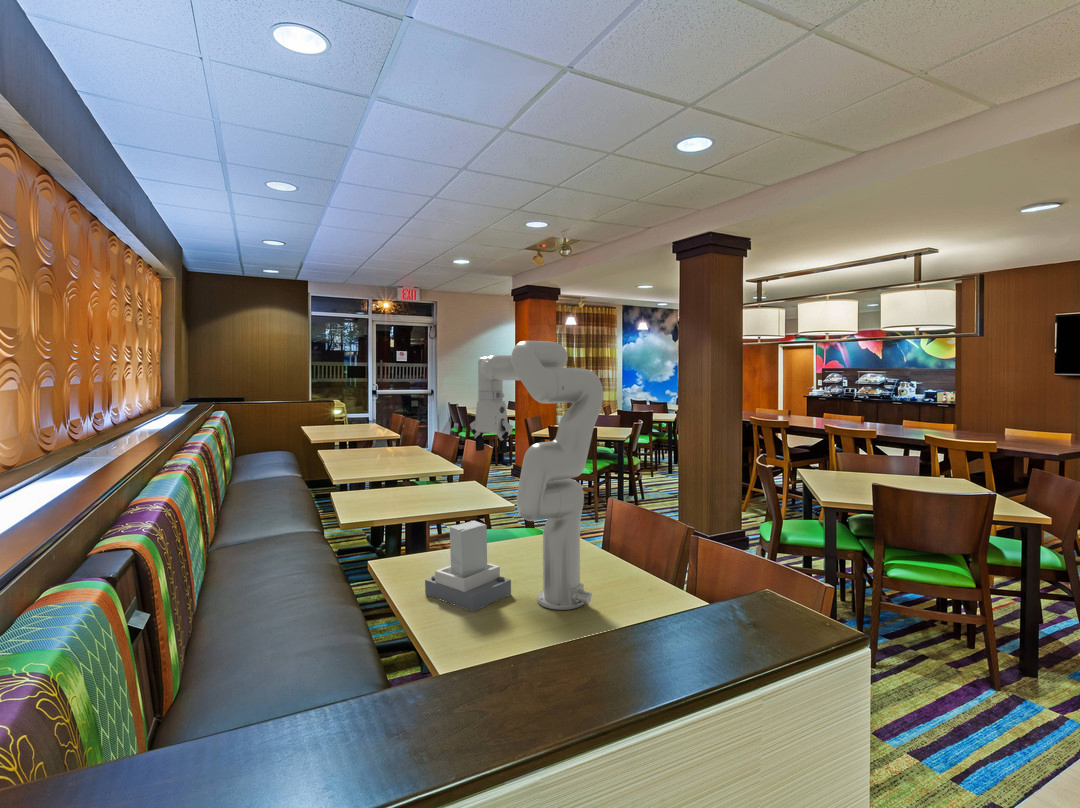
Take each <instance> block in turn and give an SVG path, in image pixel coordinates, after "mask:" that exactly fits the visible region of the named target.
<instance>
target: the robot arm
mask: <svg viewBox="0 0 1080 808" xmlns="http://www.w3.org/2000/svg"><path fill="white" fill-rule="evenodd" d="M568 356H569V355H568V352H567V350H566V349H565V347H564V346H563V345H562V344H560V343H558V342H556V341H549V340H548V341H547V340H545V341H544V340H522V341H519V342H518V343H517V344H515V346H514V348H513V349H512V351H511V355H509V354H508V355H507V354H506V355H503V354H502V355H501V354H500V355H499V354H495V355H494V354H493V355H489V356H482V357H479V358H478V359H477V391H478V392H477V396H478V397H477V400H478V401H477V403H476V410H475V419H474V420H473V421H472V422H470V424H469V426H470V429H471V433H472V434H473V437H474V439H475V451H476V452H479V451H480V452H481V451H484V450H485V437H484V435H485V434H490V435H491V434H493V435H496V436H497V437H498V439H499V440H497V444H498V445H497V446H498V447H497V449H498V454H507V452H508V440H509V438H510V436H511V435H512V432H513V429H514V426H513V425H512V424H511V423H509V422H508V412H507V406H506V402H505V400H503V398H505V394H504V393H503V381H520V382H521V383H522V384H523V386H524V387H525V389H526V391H527V392H528V394H529V395H530V396H531V398H533V400H534V401H536V402H537V403H540V404H548V405H549V404H561V403H562V404H565V403H571V405H570V406H569V407H568V409H567V410H566V411H565V412H564V414H563V415H562V417H561V418H560V421H559V423H558V427H557V431H556V436H555V438H554V439H553V440H550V441H541V442H536V443H534V444H532V445H530V446H529V447H528V448H527V450H526V451H525V453H524V456H523V459H522V466H521V468H520V469H521V470H520V474H519V475H520V476H519V481H518V486H517V487H518V488H517V492H516V493H517V494H516V508H517V511H518V514H519V516H520V517H521V518H522V519H524V520H526V521H528V522H537V521H543V520H546V522H545V525H544V528H543V532H542V585H543V586H542V590H541V591H540V592H538V594H537V596H536V601H537V602H538V604H539V605H540V606H542V607H544V608H546V609H550V610H555V611H556V610H557V611H567V610H572V609H573V610H575V609H578V608H579V607H582V606H583V605H585V604H587V605H589V604H590V603H591V601H592V596H593V594H592V592H590V591H586V590H584V587H585V586H584V584H583V583H581V520H582V514H583V513H582V512H583V507H584V504H585V503H584V501H585V494H584V493H585V492H584V489H583V487H582V485H581V484H580V482H579V481H577V480H575V479H573V478H577V477H579V476H580V475H582V473H583V472H584V470H585V467H586V465H587V461H588V457H589V456H588V455H589V451H590V446H591V443H592V438H593V432H594V428H595V425H596V423H597V420H598V417H599V415H600V412H601V409H602V407H603V406H602V405H603V401H604V391H603V385H602V382H601V379H600V378H599V377H598V375H597V373H595V372H593V371H592V370H590V369H586V368H583V367H582V368H579V367H565V366H566V365H567V363H568V359H569V358H568Z"/></svg>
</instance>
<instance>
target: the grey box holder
mask: <svg viewBox="0 0 1080 808" xmlns="http://www.w3.org/2000/svg"><path fill="white" fill-rule="evenodd" d="M500 568H501V566H499V565H497V564H493V563H490V562H487V570H484V571H482V572H479V573H477V574H474V575H472V576H469V577H467V578H462V577H459V576H455V575H452V574H451V564H450V565H448V566H445V567H442V568H439V569H436V570H435V571H434V575H432V576H431V577H428V578H426V579H424V588H425V589H424V590H425V591H424V592H425V593H424V594H426V596H428V595H429V596H428V597H431V596H432V597H431V598H433V597H435V598H434V599H436V598H438V599H437V600H439V599H441V600H440V601H442V600H444V601H447V602H449V603H448V604H450V603H452V604H455V605H457V606H456V607H458V606H460V607H459V608H461V607H463V608H466V609H468V610H467V611H469V610H471V611H474V612H476V611H475V610H477V609H479V608H481V607H483V606H485V607H487V606H489V605H491V604H490V603H492V602H494V601H496V600H498V601H500V600H502V599H504V598H503V597H505V596H507V595H509V596H511V595H512V579H511V578H506V577H504V576H501V569H500ZM510 594H511V595H510ZM507 597H508V596H507ZM501 598H502V599H501ZM505 598H506V597H505ZM499 599H500V600H499ZM444 601H443V602H444ZM447 602H446V603H447ZM496 602H497V601H496ZM494 603H495V602H494ZM452 604H451V605H452ZM488 604H489V605H488ZM492 604H493V603H492ZM455 605H454V606H455ZM486 605H487V606H486ZM463 608H462V609H463ZM483 608H484V607H483ZM466 609H465V610H466ZM481 609H482V608H481ZM479 610H480V609H479ZM471 611H470V612H471ZM477 611H478V610H477Z"/></svg>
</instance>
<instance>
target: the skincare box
mask: <svg viewBox="0 0 1080 808" xmlns="http://www.w3.org/2000/svg"><path fill="white" fill-rule="evenodd" d="M487 527H488V526H487V524H485V523H483V522H479V521H477V520H471V521H467V522H463V523H459V524H456V525H452V526H449V545H450V549H449V551H450V552H449V553H450V565H451V574H452V575H455V576H459V577H462V578H467V577H469V576H472V575H474V574H477V573H479V572H482V571H484V570H487V563H488V542H487V541H488V540H487V539H488V538H487V535H488V533H487V531H488V529H487Z"/></svg>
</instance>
